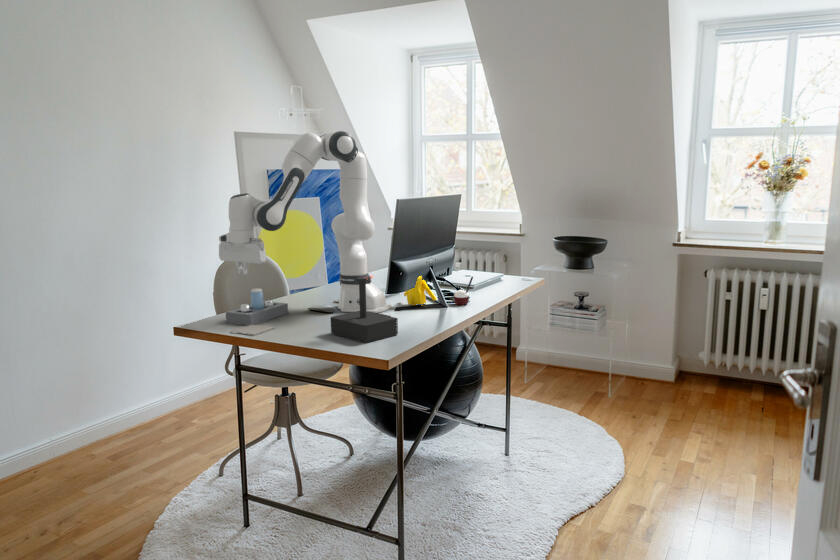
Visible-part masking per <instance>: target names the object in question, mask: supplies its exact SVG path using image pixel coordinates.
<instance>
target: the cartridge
mask: <svg viewBox="0 0 840 560" xmlns="http://www.w3.org/2000/svg"><path fill="white" fill-rule="evenodd" d="M250 290H251V291H250V305H251V308H252V309H255V310H260V309H263V308H264V305H263V301H264V291H263V289H262V288H252V289H250Z"/></svg>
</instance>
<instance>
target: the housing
mask: <svg viewBox="0 0 840 560" xmlns="http://www.w3.org/2000/svg"><path fill="white" fill-rule="evenodd" d="M265 301H266V300H265ZM265 301H264V300H263V305H264V308H263V309H260V310H255V309H252V308H251V304H249V310H250V313H243V312H241V307H239V308H236V309H232V310H228V311H225V322H226V323H227V322H229V323H230V324H235V323H238V325H244V324H247V325H246V326H248V325H253V324H254V325H258V324H259V323H260V324H261V323H263V322H266V321H269V320H272V319H274V318H278V317H280V316H283V315H287V314H289V308H288V307H289V305H288V304H289V303H286V302H274V301H273V306H269V305H265Z"/></svg>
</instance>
